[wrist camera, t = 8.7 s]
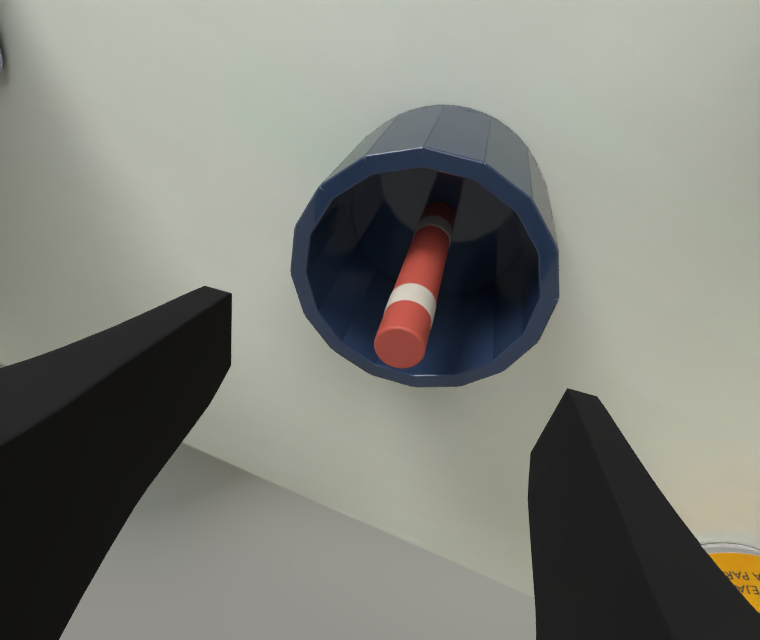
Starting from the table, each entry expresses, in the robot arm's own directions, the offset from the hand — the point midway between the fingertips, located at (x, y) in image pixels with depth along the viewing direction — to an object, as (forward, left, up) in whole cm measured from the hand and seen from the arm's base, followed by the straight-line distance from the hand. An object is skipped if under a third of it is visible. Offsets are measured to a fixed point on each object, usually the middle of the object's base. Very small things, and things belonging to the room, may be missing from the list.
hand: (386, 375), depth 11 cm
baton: (0, 0, -9) cm, 9 cm away
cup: (0, 0, -10) cm, 10 cm away
